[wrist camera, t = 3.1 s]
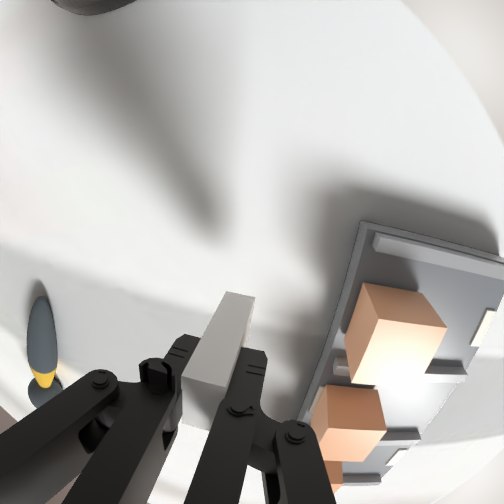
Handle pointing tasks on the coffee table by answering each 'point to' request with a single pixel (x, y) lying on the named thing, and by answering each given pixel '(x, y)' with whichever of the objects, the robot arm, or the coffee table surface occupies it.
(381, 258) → the switch bank
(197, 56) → the coffee table surface
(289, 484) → the robot arm
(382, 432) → the peach cube
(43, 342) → the paintbrush
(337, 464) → the tan cube
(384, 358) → the tab
